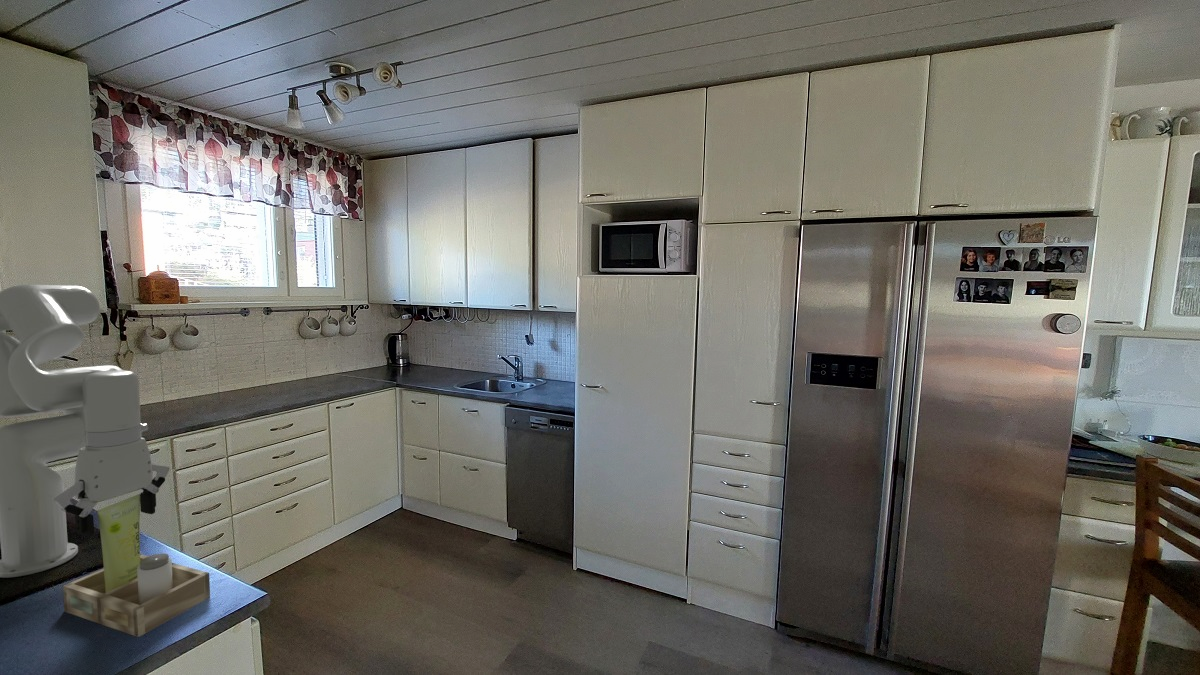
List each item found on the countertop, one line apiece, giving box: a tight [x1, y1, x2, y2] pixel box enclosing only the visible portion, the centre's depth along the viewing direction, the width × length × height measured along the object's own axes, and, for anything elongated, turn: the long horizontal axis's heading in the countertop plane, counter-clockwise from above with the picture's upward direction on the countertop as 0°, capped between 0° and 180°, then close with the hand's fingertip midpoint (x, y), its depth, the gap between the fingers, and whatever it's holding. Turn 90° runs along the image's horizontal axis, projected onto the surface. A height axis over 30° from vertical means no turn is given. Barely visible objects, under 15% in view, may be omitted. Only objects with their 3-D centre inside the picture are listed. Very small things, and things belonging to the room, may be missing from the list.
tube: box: [97, 493, 141, 592], centre depth 95 cm, size 6×5×20 cm
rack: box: [62, 553, 211, 638], centre depth 94 cm, size 20×12×6 cm, turn 73°
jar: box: [137, 553, 173, 605], centre depth 93 cm, size 5×5×10 cm
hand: (118, 523), depth 94 cm, fingers open, 9 cm apart
